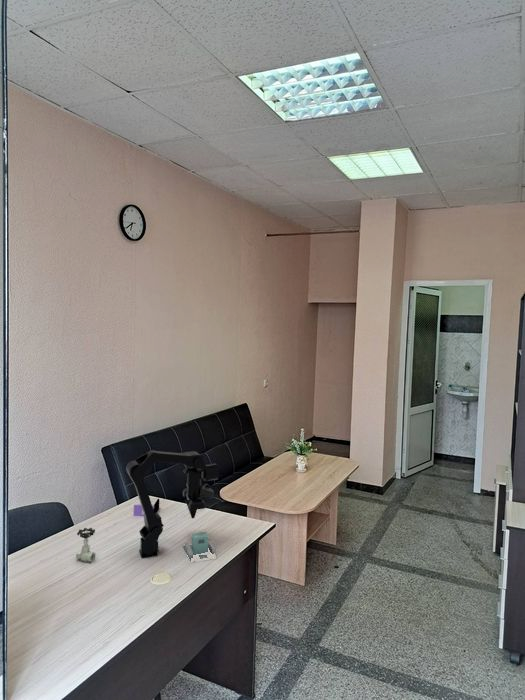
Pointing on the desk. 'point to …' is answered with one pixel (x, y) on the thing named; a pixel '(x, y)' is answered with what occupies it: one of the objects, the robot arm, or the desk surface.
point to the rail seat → (190, 554)
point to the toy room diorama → (139, 511)
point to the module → (200, 543)
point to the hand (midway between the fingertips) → (192, 518)
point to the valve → (85, 546)
